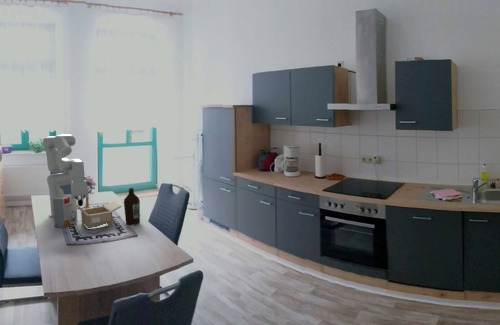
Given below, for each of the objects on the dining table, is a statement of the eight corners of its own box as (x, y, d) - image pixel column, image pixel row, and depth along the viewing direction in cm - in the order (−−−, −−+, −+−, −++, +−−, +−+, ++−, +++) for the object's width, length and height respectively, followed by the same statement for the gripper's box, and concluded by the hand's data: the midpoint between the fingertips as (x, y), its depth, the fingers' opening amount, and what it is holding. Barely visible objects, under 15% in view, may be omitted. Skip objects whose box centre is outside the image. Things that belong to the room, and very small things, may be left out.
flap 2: (113, 201, 293) (114, 202, 293) (104, 205, 290) (105, 206, 290) (121, 206, 280) (121, 206, 280) (111, 210, 276) (112, 211, 276)
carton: (81, 223, 283) (80, 209, 282) (105, 219, 292) (104, 206, 291) (88, 230, 267) (87, 215, 266) (113, 225, 277) (112, 211, 275)
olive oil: (121, 224, 280) (119, 189, 276) (132, 220, 289) (130, 186, 286) (133, 226, 275) (131, 190, 272) (143, 222, 285) (142, 187, 281)
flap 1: (81, 209, 280) (80, 210, 280) (74, 202, 277) (73, 203, 277) (87, 214, 267) (86, 215, 267) (80, 207, 264) (79, 208, 264)
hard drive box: (64, 228, 273) (61, 199, 270) (54, 227, 274) (51, 198, 271) (78, 221, 288) (76, 194, 285) (68, 220, 289) (66, 193, 286)
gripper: (88, 176, 276) (90, 203, 279) (65, 179, 268) (67, 206, 271) (91, 178, 270) (93, 205, 273) (67, 181, 262) (70, 208, 265)
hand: (80, 205), depth 272 cm, fingers closed
